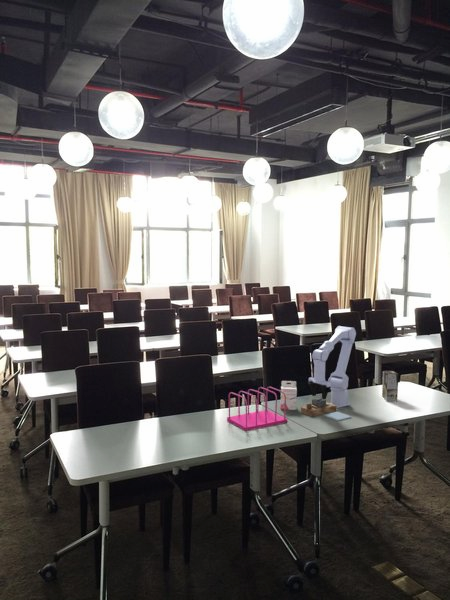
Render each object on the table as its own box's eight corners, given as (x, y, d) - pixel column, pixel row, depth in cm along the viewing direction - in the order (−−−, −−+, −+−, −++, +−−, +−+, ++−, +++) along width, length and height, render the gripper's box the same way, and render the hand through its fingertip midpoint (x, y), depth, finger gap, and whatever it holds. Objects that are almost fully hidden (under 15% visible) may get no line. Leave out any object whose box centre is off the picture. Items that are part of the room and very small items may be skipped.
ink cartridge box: (280, 409, 271) (280, 382, 269) (280, 406, 275) (280, 380, 274) (296, 410, 270) (297, 383, 268) (296, 407, 275) (296, 381, 273)
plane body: (325, 407, 275) (325, 397, 275) (336, 410, 269) (336, 401, 268) (300, 412, 266) (301, 402, 265) (311, 416, 259) (311, 406, 258)
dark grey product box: (320, 404, 270) (320, 396, 270) (325, 406, 267) (326, 398, 266) (311, 406, 267) (311, 397, 267) (317, 408, 263) (317, 399, 263)
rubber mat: (337, 412, 266) (337, 411, 265) (351, 417, 257) (351, 416, 257) (323, 415, 260) (323, 414, 260) (337, 421, 252) (337, 420, 252)
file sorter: (226, 420, 252) (226, 390, 251) (267, 413, 265) (267, 383, 264) (245, 431, 237) (246, 398, 236) (287, 422, 250) (288, 391, 249)
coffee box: (397, 401, 286) (398, 374, 285) (386, 401, 286) (387, 373, 285) (392, 397, 295) (393, 370, 294) (381, 397, 295) (382, 370, 294)
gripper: (304, 370, 269) (304, 395, 270) (323, 375, 257) (323, 401, 258) (314, 368, 273) (313, 393, 274) (333, 374, 261) (333, 399, 262)
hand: (318, 397), depth 266 cm, fingers open, 7 cm apart
